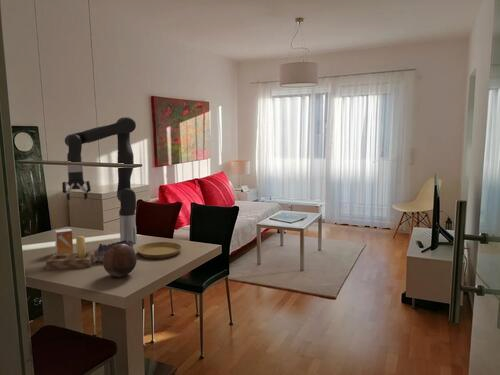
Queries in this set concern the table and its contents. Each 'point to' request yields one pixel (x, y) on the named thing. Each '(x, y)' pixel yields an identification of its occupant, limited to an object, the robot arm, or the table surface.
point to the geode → (103, 248)
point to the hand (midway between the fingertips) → (77, 199)
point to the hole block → (69, 261)
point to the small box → (64, 241)
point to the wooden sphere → (119, 260)
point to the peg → (81, 247)
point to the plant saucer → (159, 249)
